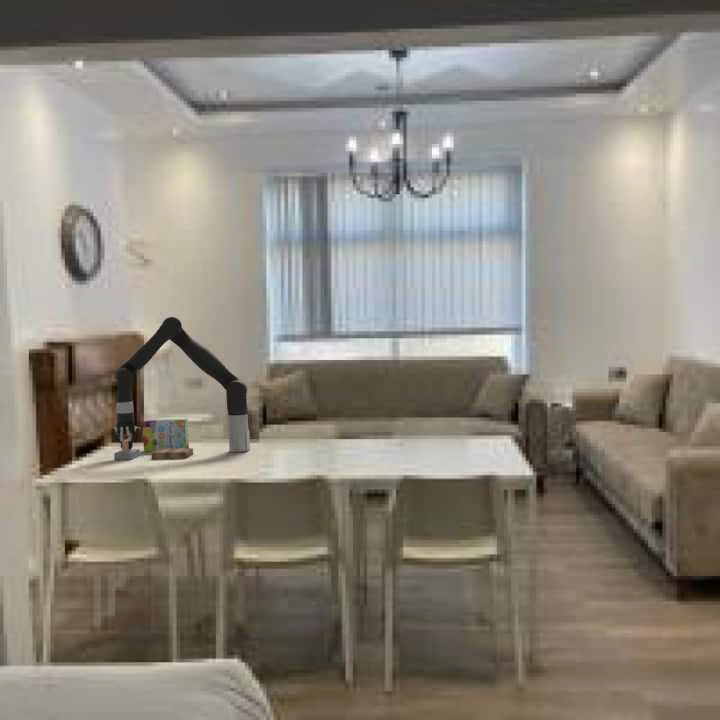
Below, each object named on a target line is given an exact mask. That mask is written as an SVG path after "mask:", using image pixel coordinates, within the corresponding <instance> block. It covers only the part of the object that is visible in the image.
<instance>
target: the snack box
mask: <svg viewBox="0 0 720 720" xmlns="http://www.w3.org/2000/svg"><path fill="white" fill-rule="evenodd" d="M142 435H143V436H142V439H143V441H142V442H143V443H142V444H143V452H154V451H156V450H158V449H178V448H190V439H189V436H190V435H189V419H188V418H161V419H159V418H158V419H144V420H142Z"/></svg>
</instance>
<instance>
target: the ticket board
mask: <svg viewBox="0 0 720 720" xmlns="http://www.w3.org/2000/svg"><path fill="white" fill-rule="evenodd" d="M193 455H194V448H192V447H189V448H178V449H158V450H156V451H151V460H184V459H185V460H186V459H189V458H191V457H192V456H193Z"/></svg>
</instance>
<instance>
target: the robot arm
mask: <svg viewBox="0 0 720 720" xmlns="http://www.w3.org/2000/svg"><path fill="white" fill-rule="evenodd" d="M168 341H171V343H173V344H175V345H176V346H177V347H178V348H180V350H181V351H182V352H183V353H184V354H185V355H186V356H187V357H188V359H189V360H191V361H192V363H194V364H195V366H196V367H198V368H199V370H201V371H203V372H204V373H205V374H206V375H208V376H209V377H211V378H213V379H214V380H215V381H216V382H218V383H219V384H220V385H221V386H222V388H223V389H224V390H225V392H226V394H225V397H226V409H227V421H228V422H227V424H228V425H227V427H228V430H227V431H228V446H229V447H228V449H229V452H231V453H244V452H249V451H250V450H251V445H250V444H251V443H250V442H251V441H250V440H251V439H250V430H249V419H248V418H249V415H248V414H249V413H248V403H247V400H248V399H247V393H248V386H247V384H246V383H245V382H244V381H243V380H241V379H240V378H238V376H236V375H235V374H233V373H232V372H231V371H230V370H229V369H228V368H227V367H226V366H225V365H224V363H222V362H221V360H220V359H219V358H218V357H217V356H216V355H215V354H214V353H213V352H212V351H210V349H209V348H207V347H206V345H204V344H202V343H201V342H199V341H198V340H196V339H194V338H193V337H191V336H190V335H189V334H188V332H187V331H186V330H185V329H184V328H183V325H182V321H181V320H180V319H179V318H177V317H175V316H169V317H166V318H165V319H164V320H163V321H162V323H161V325H160V326H159V327H158V329H157V330H156V332H155V333H154V334H153V335H152V336H151V337H150V338H149V340H147V341H146V342H145V343H144V344H143V345H142V346H141V347H140V348H139V349H138V350H136V352H135V353H134V354H133V355H132V356H131V357H130V358H129V359H128V360H127V361H126V362H124V363H123V364H122V365H121V366H120V367H118V369H116V371H115V372H114V379H115V381H116V383H117V390H116V393H115V394H116V408H115V409H116V423H117V424H116V426H114V427H113V428H111V429H110V430H111V432H112V434H113V436H114V438H115V440H116V441H119V443H120V448H121V450H123V447H122V441H124V440H125V438H126V436H127V440H129V442H128V444H129V449H133V447H134V446H133V441H135V440H136V439H137V438H138V436H139V433H140V432H141V429H142V428H141V427H138V426H137V425H136V424H135V415H134V411H135V410H134V403H133V402H134V401H133V382H134V381H133V380H134V379H133V378H134V377H133V376H134V375H135V374H136V373H137V372H138V371H141V369H143V368H144V367H145V366H146V365H147V364H148V363H149V362H150V361H151V360H152V358H153V357H154V356H155V355H156V354H157V352H158V351H159V350H160V349H161V348H162V347H163V346H164V345H165V344H166V343H167V342H168ZM133 431H134V434H133ZM118 432H119V433H118Z"/></svg>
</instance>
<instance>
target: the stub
mask: <svg viewBox="0 0 720 720" xmlns="http://www.w3.org/2000/svg"><path fill="white" fill-rule="evenodd" d="M128 442H129V440H128V439H124V441H122V447H123V450H122V449H120V450H118V451H116V452H114V453H113V455H114V456H113V457H114V461H116V460H117V461H121V460H122V461H126V460H134V459H135V458H137V457H139V456H140V455H141V453H140V452H141V451H140V448H132V449H129V444H128Z"/></svg>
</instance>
